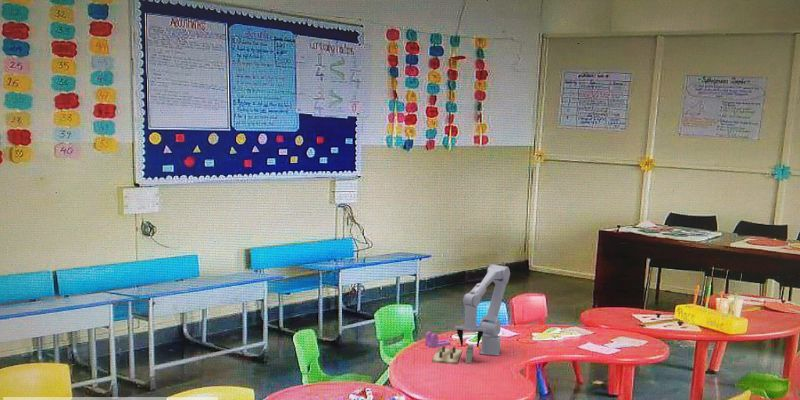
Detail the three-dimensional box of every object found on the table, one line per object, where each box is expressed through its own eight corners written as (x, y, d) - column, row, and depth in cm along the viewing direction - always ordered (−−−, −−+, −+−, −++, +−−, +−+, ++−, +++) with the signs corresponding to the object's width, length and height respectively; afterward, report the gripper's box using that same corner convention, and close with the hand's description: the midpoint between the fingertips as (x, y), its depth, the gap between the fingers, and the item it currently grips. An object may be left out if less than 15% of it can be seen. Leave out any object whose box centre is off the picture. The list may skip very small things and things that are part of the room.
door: (472, 357, 359) (473, 345, 358) (470, 363, 349) (471, 351, 349) (468, 356, 359) (468, 344, 359) (465, 363, 350) (466, 350, 349)
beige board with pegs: (462, 351, 367) (462, 344, 367) (457, 364, 347) (457, 357, 347) (438, 349, 369) (438, 342, 369) (432, 362, 350) (432, 354, 349)
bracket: (431, 348, 372) (432, 334, 372) (425, 345, 377) (425, 332, 376) (452, 344, 379) (452, 331, 379) (445, 341, 384) (446, 328, 383)
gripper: (454, 319, 350) (453, 347, 351) (485, 321, 347) (484, 349, 348) (456, 315, 357) (455, 342, 358) (486, 317, 354) (485, 345, 355)
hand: (469, 346), depth 353 cm, fingers open, 7 cm apart
